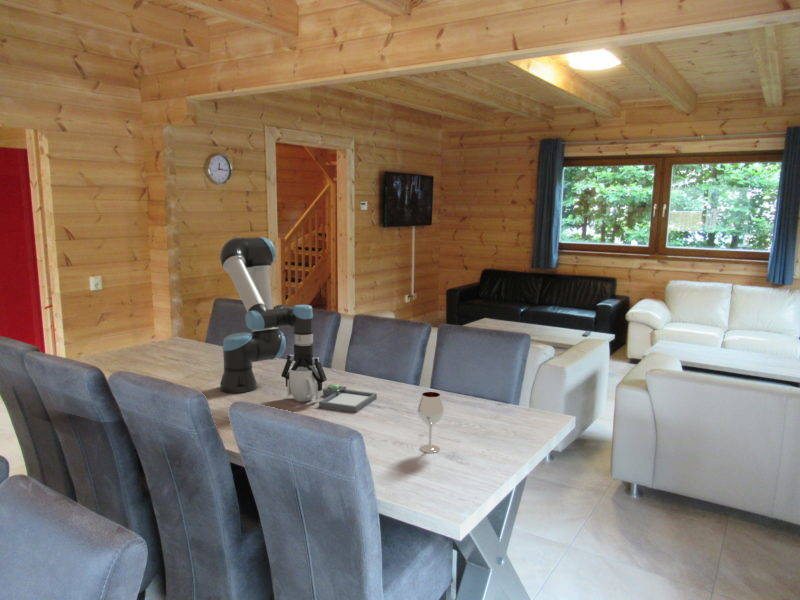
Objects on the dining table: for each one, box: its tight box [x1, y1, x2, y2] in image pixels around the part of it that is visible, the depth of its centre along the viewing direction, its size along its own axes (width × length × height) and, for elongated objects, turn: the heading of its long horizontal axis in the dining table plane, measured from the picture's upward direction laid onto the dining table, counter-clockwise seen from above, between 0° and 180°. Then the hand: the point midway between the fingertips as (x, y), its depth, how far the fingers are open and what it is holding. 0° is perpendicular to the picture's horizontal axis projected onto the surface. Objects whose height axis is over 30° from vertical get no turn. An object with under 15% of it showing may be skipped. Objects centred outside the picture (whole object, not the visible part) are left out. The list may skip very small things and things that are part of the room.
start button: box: [329, 383, 340, 390], centre depth 241 cm, size 4×4×2 cm
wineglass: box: [417, 391, 445, 454], centre depth 185 cm, size 8×8×18 cm
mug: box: [288, 365, 317, 403], centre depth 233 cm, size 15×11×13 cm
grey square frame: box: [322, 385, 347, 398], centre depth 242 cm, size 7×7×3 cm
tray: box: [318, 388, 378, 413], centre depth 232 cm, size 16×19×2 cm
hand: (303, 396), depth 234 cm, fingers closed on mug, 12 cm apart
